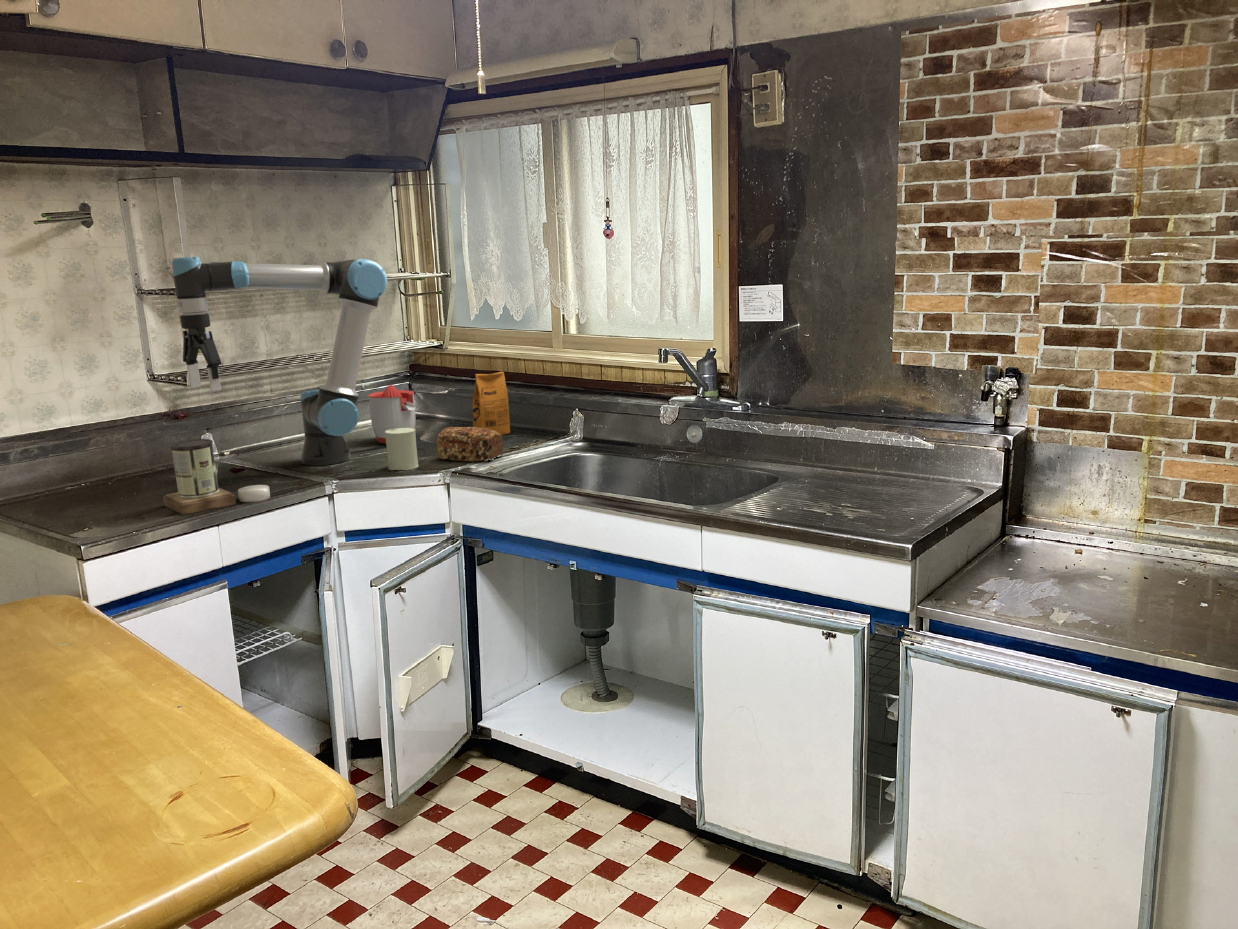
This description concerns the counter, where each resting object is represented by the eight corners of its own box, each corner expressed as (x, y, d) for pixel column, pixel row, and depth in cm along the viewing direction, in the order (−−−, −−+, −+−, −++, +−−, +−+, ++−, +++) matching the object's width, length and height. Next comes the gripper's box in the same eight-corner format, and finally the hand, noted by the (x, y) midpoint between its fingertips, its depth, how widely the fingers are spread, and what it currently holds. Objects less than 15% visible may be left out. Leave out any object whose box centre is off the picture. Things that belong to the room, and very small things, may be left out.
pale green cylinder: (402, 463, 304) (399, 425, 301) (424, 465, 299) (421, 427, 297) (381, 469, 296) (378, 430, 294) (404, 471, 292) (400, 432, 289)
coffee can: (193, 488, 267) (186, 438, 263) (227, 489, 265) (220, 438, 261) (169, 498, 257) (161, 446, 254) (204, 499, 255) (197, 446, 252)
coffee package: (471, 433, 348) (467, 372, 343) (504, 430, 353) (500, 369, 348) (479, 438, 339) (474, 375, 334) (512, 434, 344) (509, 372, 339)
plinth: (216, 495, 271) (214, 485, 270) (236, 503, 261) (234, 493, 260) (164, 505, 262) (162, 494, 261) (182, 514, 252) (180, 503, 251)
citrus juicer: (399, 447, 327) (394, 389, 323) (362, 444, 336) (357, 386, 332) (431, 439, 340) (426, 382, 336) (395, 435, 349) (390, 380, 345)
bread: (437, 460, 306) (434, 429, 304) (453, 453, 316) (451, 423, 314) (490, 463, 300) (487, 431, 298) (505, 455, 310) (503, 425, 307)
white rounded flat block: (263, 493, 272) (262, 483, 271) (275, 498, 266) (273, 488, 265) (234, 499, 267) (233, 488, 266) (246, 504, 261) (244, 493, 260)
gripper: (162, 314, 277) (175, 387, 282) (199, 315, 259) (211, 394, 264) (189, 311, 282) (200, 383, 287) (226, 313, 265) (238, 389, 270)
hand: (206, 388), depth 276 cm, fingers open, 13 cm apart
